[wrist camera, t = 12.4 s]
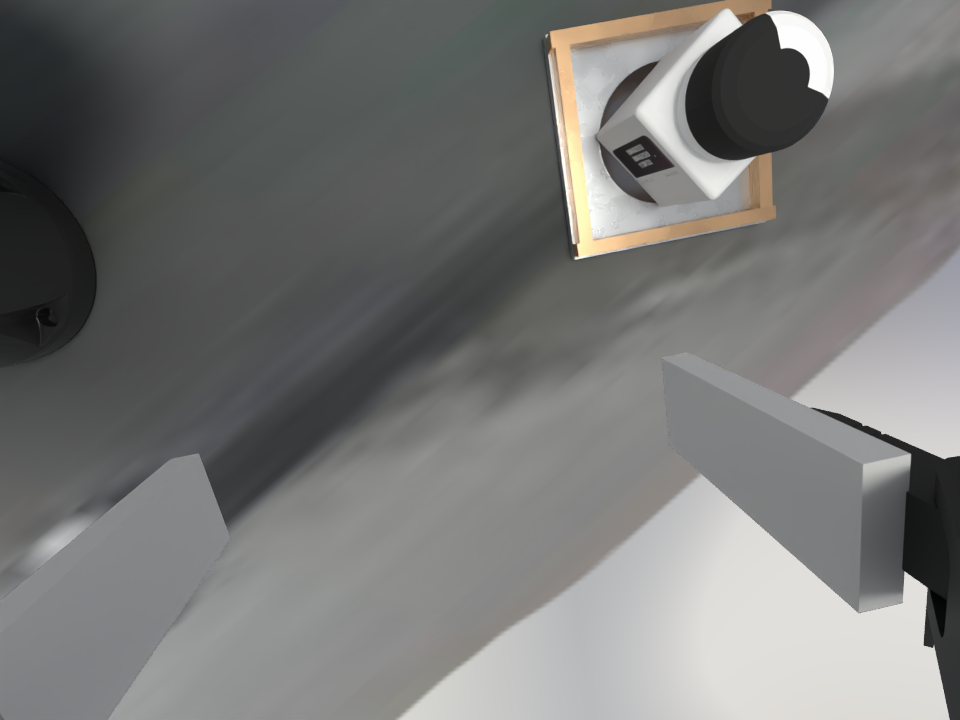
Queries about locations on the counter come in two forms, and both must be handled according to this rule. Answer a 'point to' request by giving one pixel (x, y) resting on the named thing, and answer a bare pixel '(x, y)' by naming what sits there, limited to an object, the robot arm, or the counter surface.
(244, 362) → the counter surface
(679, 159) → the container
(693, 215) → the wooden square frame
